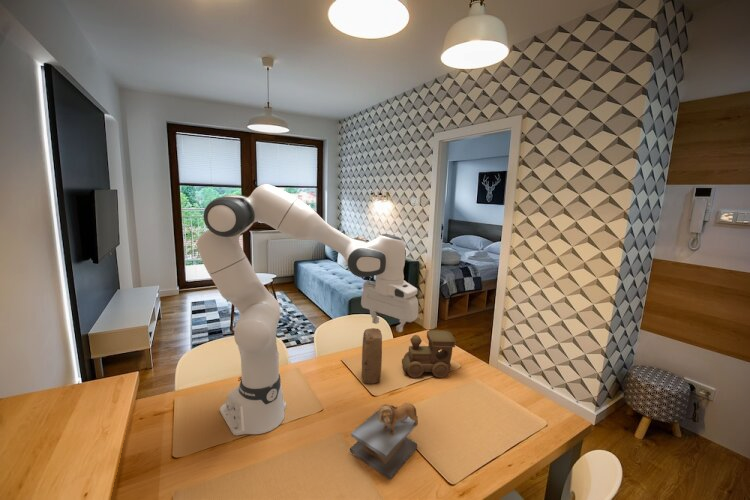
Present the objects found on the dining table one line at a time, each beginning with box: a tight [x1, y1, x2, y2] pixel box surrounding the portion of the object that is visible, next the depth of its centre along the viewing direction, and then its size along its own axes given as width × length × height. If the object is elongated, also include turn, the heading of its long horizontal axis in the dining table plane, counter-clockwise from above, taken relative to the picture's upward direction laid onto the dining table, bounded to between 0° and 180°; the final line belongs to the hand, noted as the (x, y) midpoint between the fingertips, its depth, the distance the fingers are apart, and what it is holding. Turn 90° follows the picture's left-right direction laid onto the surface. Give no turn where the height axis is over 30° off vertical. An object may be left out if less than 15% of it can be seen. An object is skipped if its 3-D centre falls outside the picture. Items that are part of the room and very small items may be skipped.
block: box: [361, 327, 383, 384], centre depth 128 cm, size 11×8×20 cm
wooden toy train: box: [401, 329, 456, 379], centre depth 135 cm, size 20×11×17 cm, turn 93°
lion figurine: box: [377, 402, 419, 435], centre depth 91 cm, size 15×5×9 cm, turn 127°
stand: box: [349, 410, 418, 481], centre depth 93 cm, size 14×16×8 cm
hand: (387, 327), depth 104 cm, fingers open, 8 cm apart
